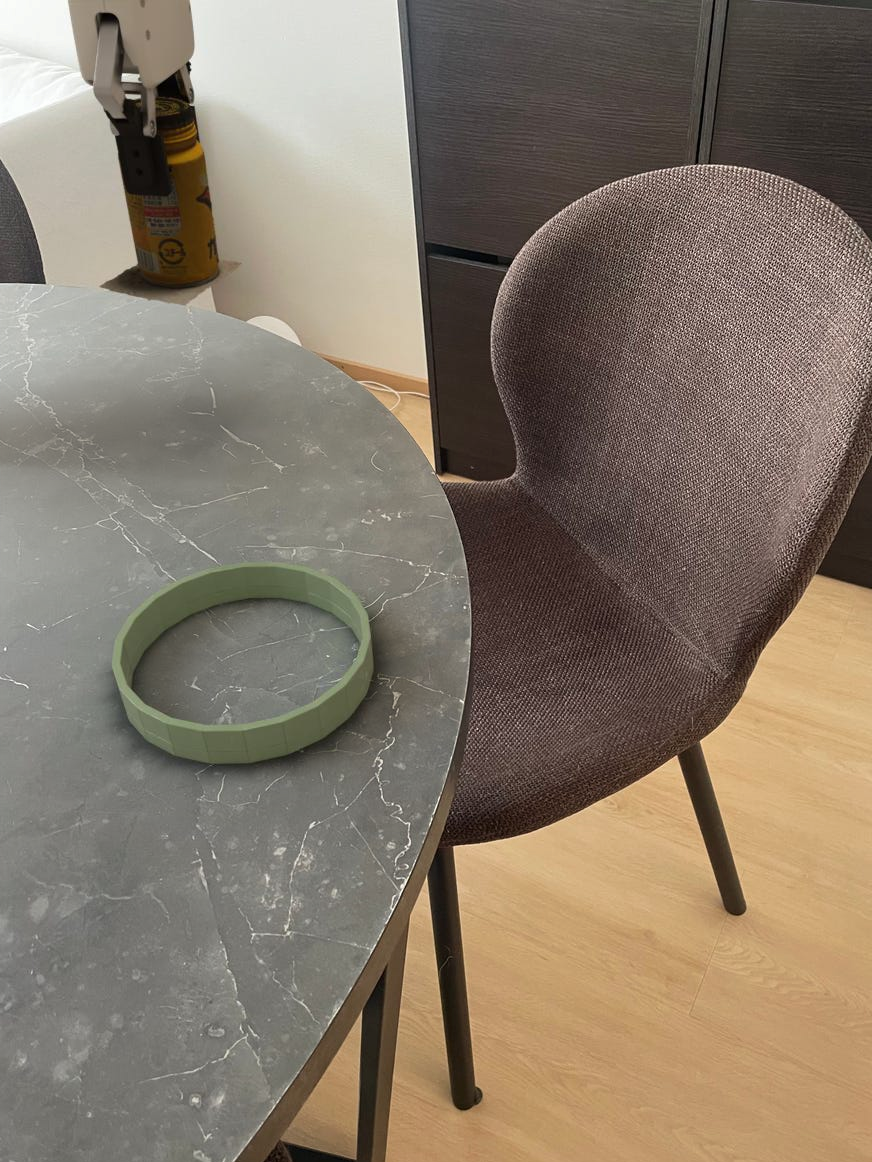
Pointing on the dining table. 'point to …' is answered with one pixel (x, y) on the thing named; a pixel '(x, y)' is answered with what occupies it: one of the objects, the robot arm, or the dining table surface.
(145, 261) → the yellow coffee can
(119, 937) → the dining table surface
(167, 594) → the green faceted hoop
